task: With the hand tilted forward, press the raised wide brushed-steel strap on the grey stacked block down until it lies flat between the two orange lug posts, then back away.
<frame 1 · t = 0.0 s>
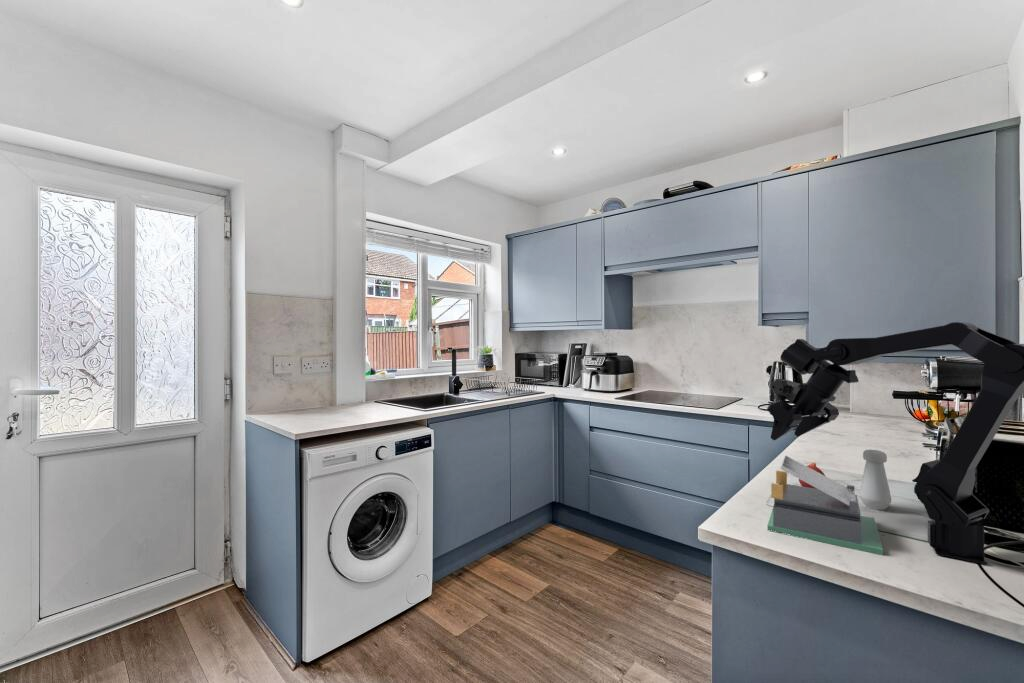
hand: (784, 437, 107), 15 cm above the countertop, tool tilted 35°, fingers open, 9 cm apart
salt shaker: (875, 507, 101), on the countertop
processor board: (821, 526, 91), on the countertop
onion: (812, 494, 110), on the countertop
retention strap: (817, 480, 91), point 10 cm above the countertop, hinge at 25.0°
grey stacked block: (815, 525, 91), resting on processor board
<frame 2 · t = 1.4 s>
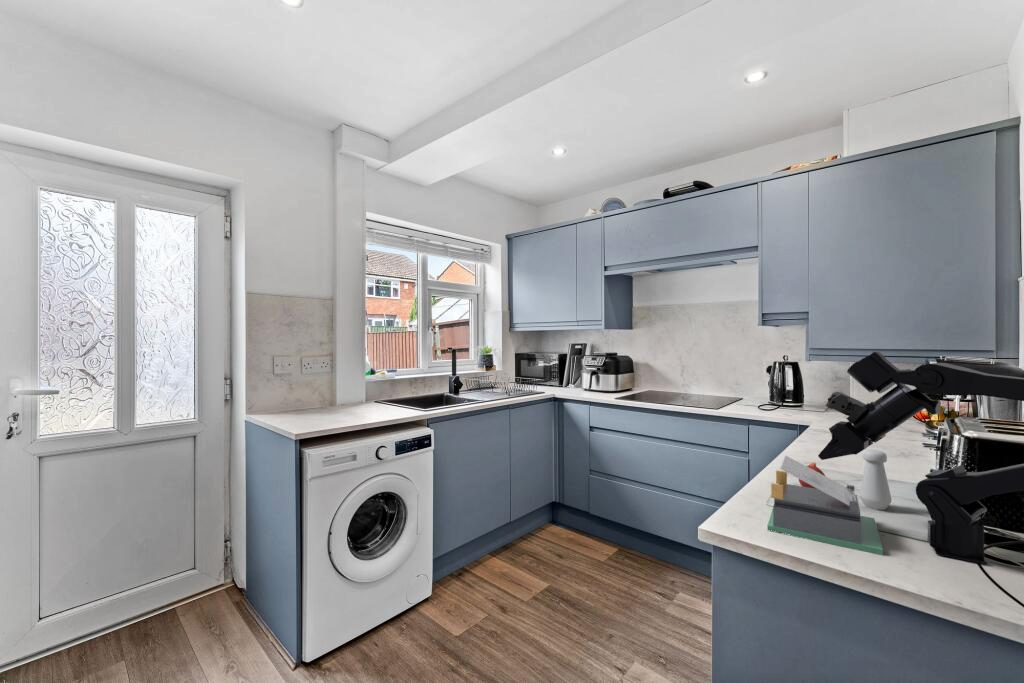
hand: (825, 455, 96), 14 cm above the countertop, tool tilted 45°, fingers open, 7 cm apart
nothing on the countertop moved.
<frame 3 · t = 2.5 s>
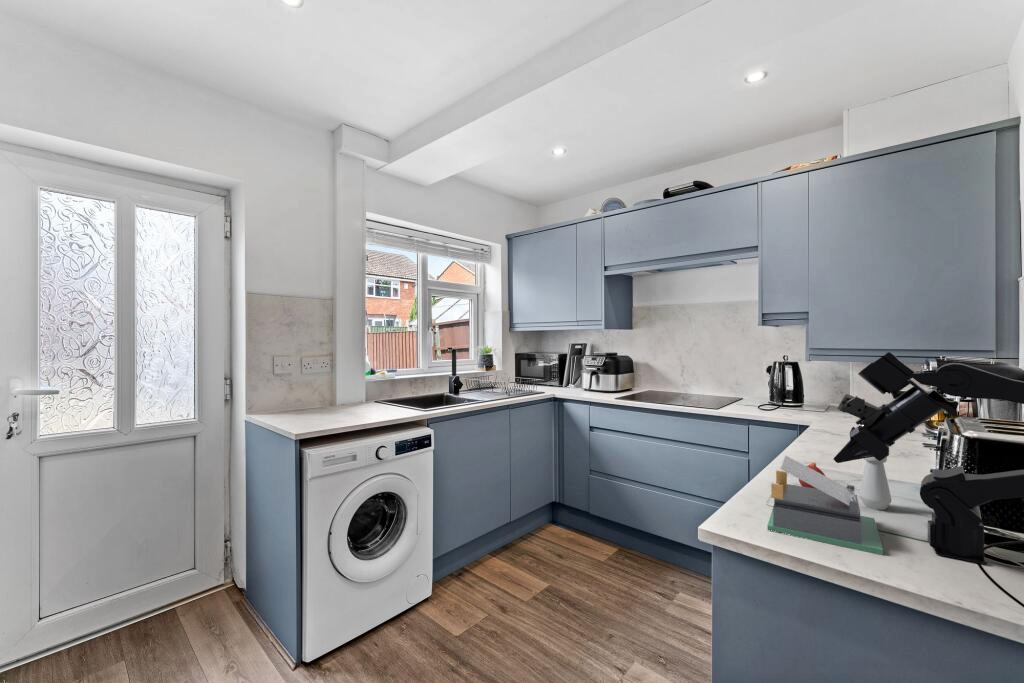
hand: (835, 460, 91), 14 cm above the countertop, tool tilted 45°, fingers closed
nothing on the countertop moved.
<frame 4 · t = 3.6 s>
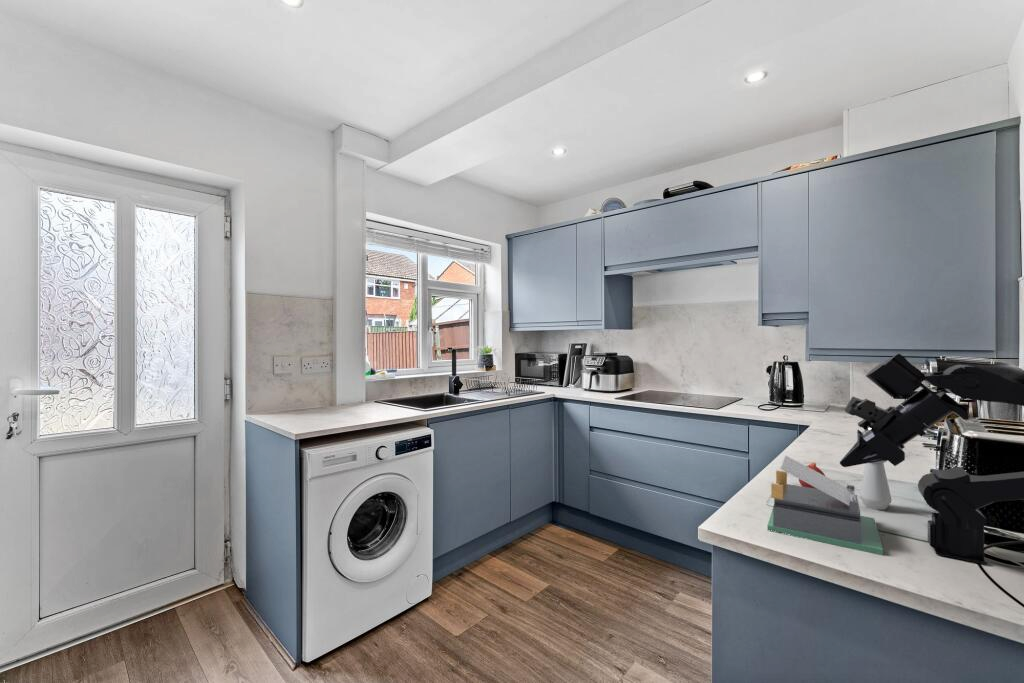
hand: (841, 464, 89), 13 cm above the countertop, tool tilted 45°, fingers closed
nothing on the countertop moved.
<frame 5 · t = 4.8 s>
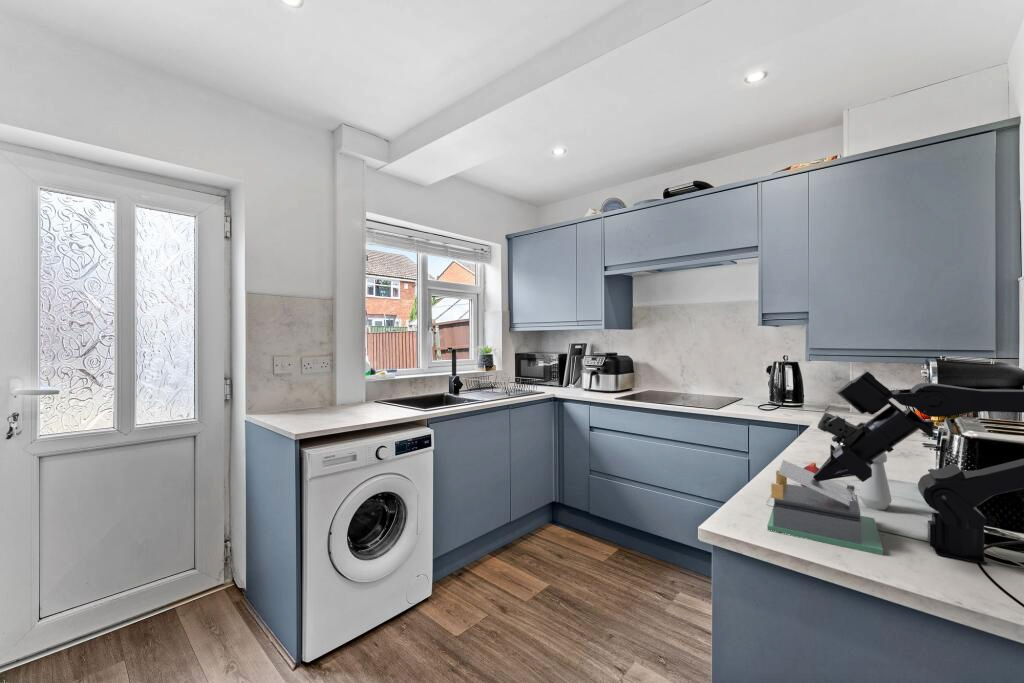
hand: (815, 479, 91), 10 cm above the countertop, tool tilted 45°, fingers closed, pressing on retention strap
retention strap: (816, 482, 91), point 9 cm above the countertop, hinge at 20.0°, touching gripper
everything else where it was.
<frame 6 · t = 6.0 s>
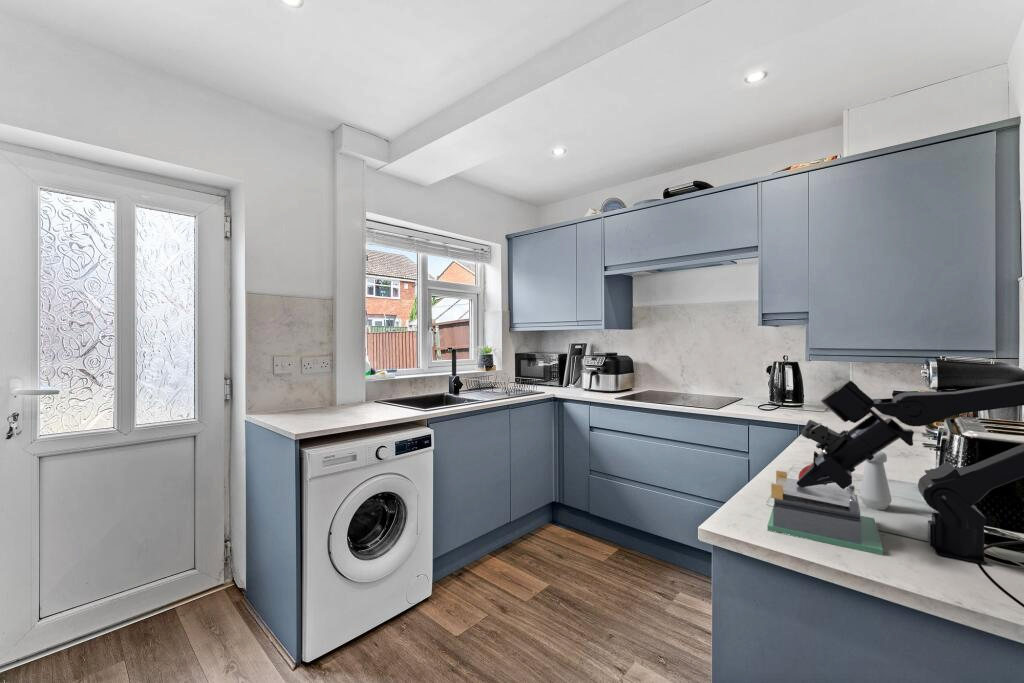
hand: (798, 485, 93), 8 cm above the countertop, tool tilted 45°, fingers closed, pressing on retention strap
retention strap: (814, 491, 91), point 7 cm above the countertop, hinge at 2.2°, touching gripper
everything else where it was.
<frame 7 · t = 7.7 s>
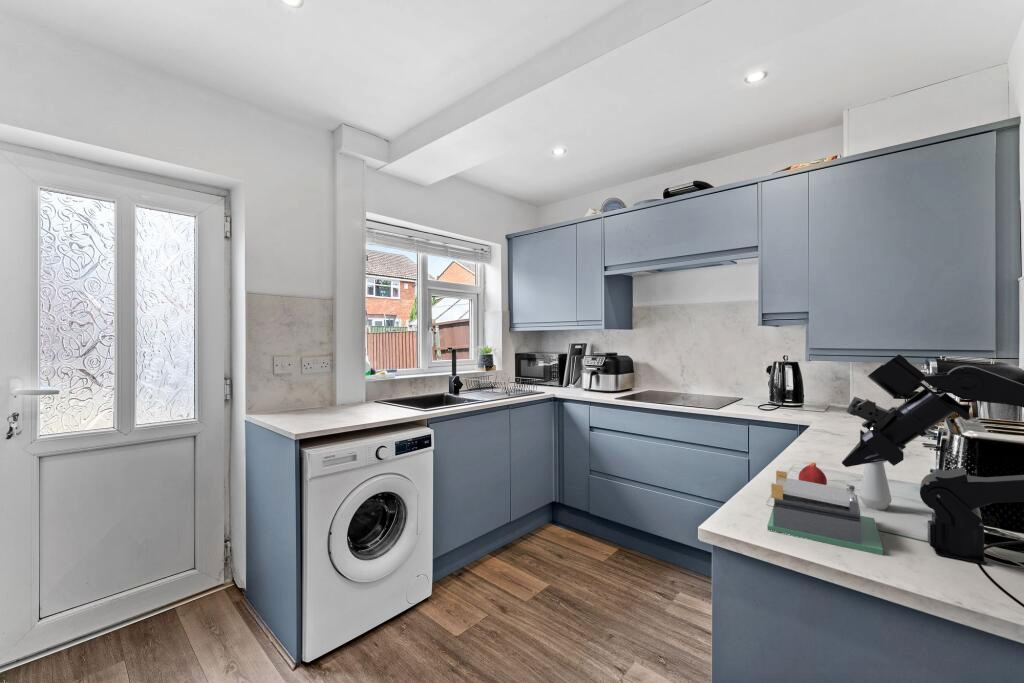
hand: (843, 464, 90), 13 cm above the countertop, tool tilted 45°, fingers closed
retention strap: (814, 491, 91), point 7 cm above the countertop, hinge at 2.2°
everything else where it was.
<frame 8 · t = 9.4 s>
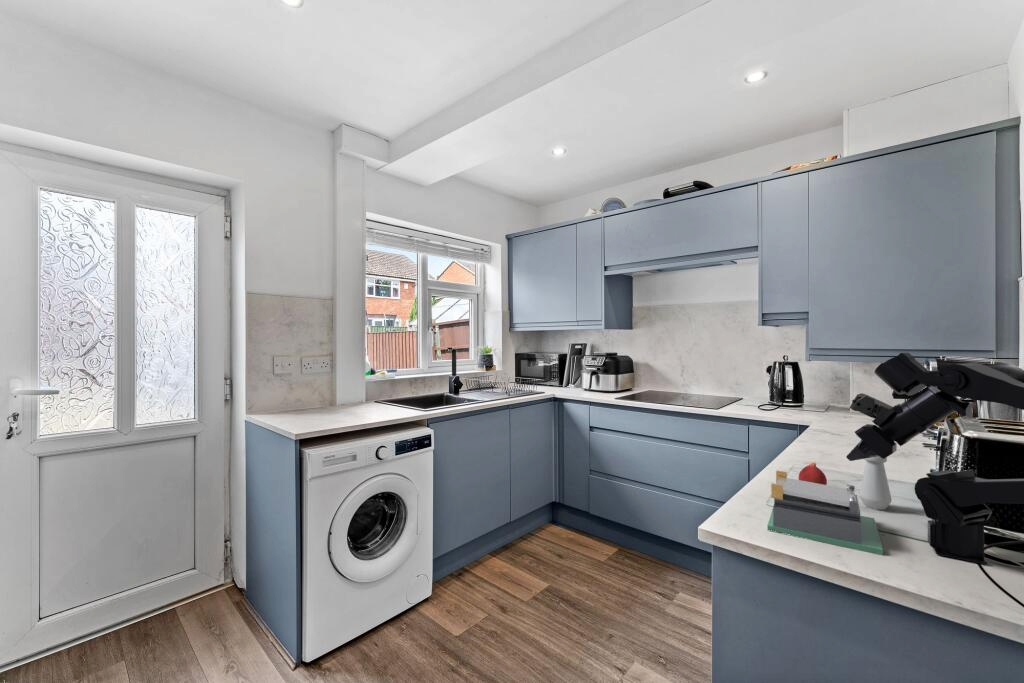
hand: (848, 458, 92), 14 cm above the countertop, tool tilted 45°, fingers closed
nothing on the countertop moved.
at the end: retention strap at +2° (first picture: +25°); the gripper is holding nothing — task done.
